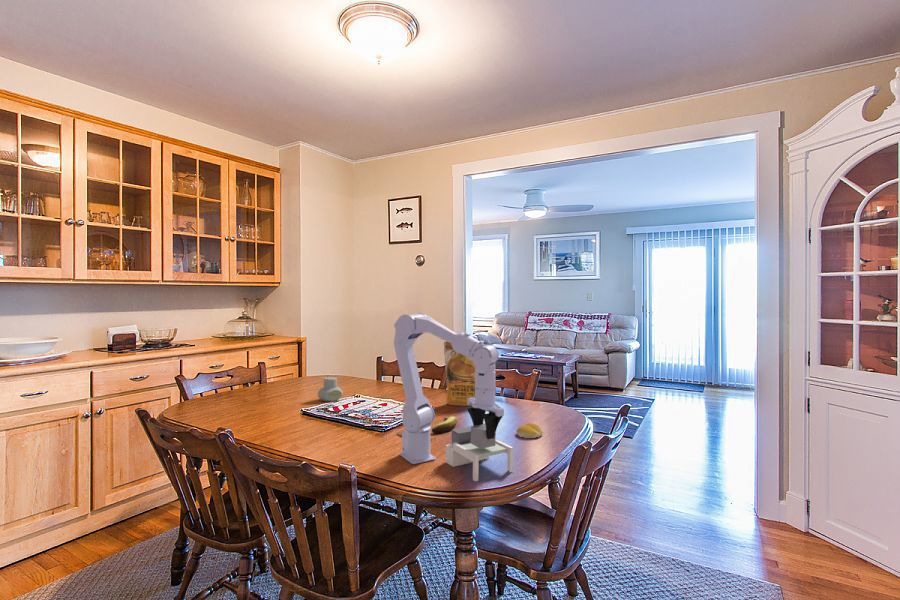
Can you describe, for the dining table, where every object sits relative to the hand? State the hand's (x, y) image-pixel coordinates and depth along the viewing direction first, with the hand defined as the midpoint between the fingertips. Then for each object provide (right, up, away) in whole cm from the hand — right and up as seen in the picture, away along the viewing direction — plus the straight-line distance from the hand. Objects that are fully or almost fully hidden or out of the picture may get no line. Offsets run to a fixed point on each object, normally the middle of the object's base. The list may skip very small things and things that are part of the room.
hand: (484, 435), depth 132 cm
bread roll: (+18, -10, +33) cm, 39 cm away
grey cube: (0, -3, 0) cm, 3 cm away
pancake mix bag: (-3, -8, +74) cm, 74 cm away
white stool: (-1, -10, +4) cm, 11 cm away
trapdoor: (-2, -5, +4) cm, 7 cm away
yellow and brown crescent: (-12, -10, +41) cm, 44 cm away
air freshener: (-64, -7, +79) cm, 102 cm away
